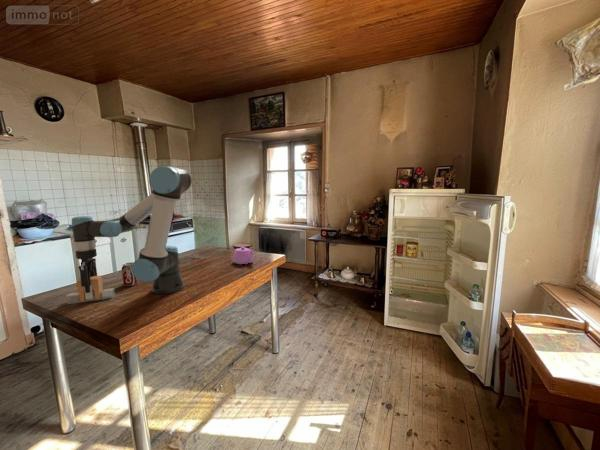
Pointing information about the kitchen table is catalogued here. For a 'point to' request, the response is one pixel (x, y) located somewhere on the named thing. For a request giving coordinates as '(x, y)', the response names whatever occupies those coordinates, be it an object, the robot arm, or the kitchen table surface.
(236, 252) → the teapot
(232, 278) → the kitchen table surface
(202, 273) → the kitchen table surface
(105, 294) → the grey segmented bar
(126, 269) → the soda can
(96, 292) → the upright orange wooden block
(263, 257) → the kitchen table surface
